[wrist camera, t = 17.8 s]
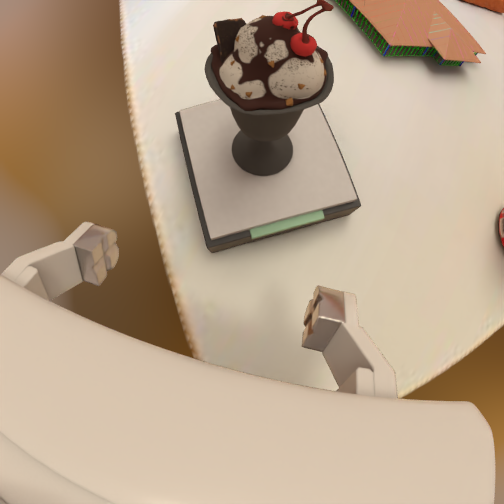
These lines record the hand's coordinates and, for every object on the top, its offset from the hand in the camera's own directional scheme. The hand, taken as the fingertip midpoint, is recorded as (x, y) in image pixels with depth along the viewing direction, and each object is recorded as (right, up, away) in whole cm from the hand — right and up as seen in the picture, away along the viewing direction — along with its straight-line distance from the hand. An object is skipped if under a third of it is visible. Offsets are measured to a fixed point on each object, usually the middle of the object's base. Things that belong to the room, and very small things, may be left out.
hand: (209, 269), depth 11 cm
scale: (+3, +9, +15) cm, 18 cm away
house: (+24, +42, +20) cm, 52 cm away
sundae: (+3, +9, +12) cm, 15 cm away
